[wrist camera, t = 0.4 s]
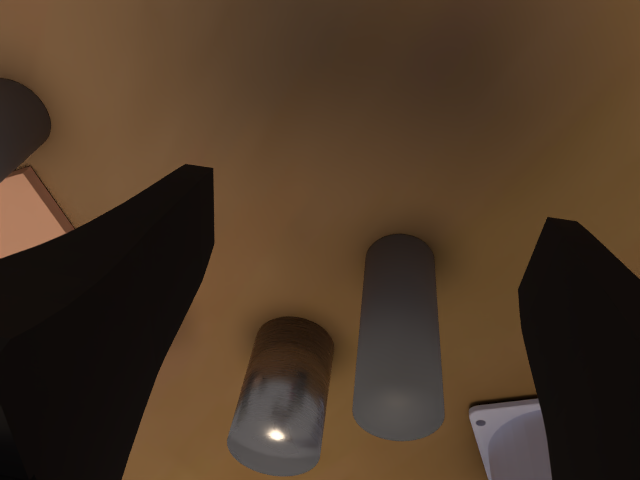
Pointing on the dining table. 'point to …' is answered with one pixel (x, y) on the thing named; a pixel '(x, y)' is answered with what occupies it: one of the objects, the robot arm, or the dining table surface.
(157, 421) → the dining table surface
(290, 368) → the shiny metal cylinder
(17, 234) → the tile
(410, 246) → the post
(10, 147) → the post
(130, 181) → the dining table surface
